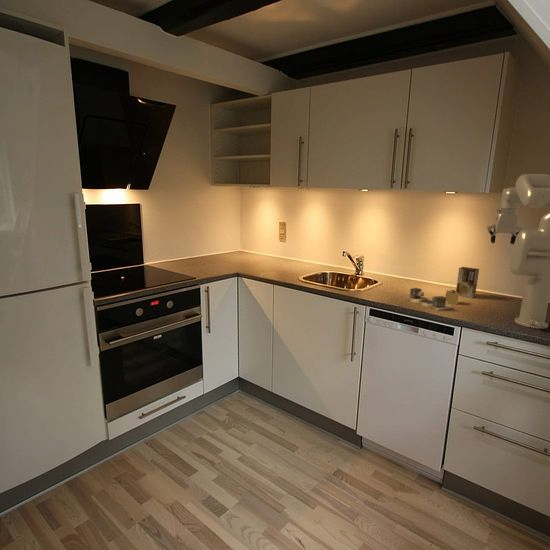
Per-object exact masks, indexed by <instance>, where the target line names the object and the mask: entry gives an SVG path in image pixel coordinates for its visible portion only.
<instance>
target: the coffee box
mask: <svg viewBox="0 0 550 550" xmlns="http://www.w3.org/2000/svg"><path fill="white" fill-rule="evenodd" d="M457 272H458V274H457V280H456V281H457V283H456V290H455V291H457V292H458V293H459V297H465V298H470V299H473V298H475V297H476V294H477V287H478V280H479V273H480V268H475V267H467V266H462V267H459V268H458V271H457Z"/></svg>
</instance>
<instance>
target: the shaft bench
mask: <svg viewBox="0 0 550 550" xmlns="http://www.w3.org/2000/svg"><path fill="white" fill-rule="evenodd" d="M424 294H425V292H424V291H422V288H419V287H414V288H412V287H411V288H410V292H409V297H404V300H405V299H406V300H405V301H407V300H409V301H408V302H410V301H411V303H413V302H414V304H416V303H417V305H419V304H420V306H422V305H423V307H425V306H426V307H425V308H428V307H429V309H431V308H432V309H431V310H435V311H437V312H438V311H443V310H448V309H453V305H452V304H447V303H446V296H443V295H439V296H438V295H437V296H432V297H431V298H427V297H425V296H424Z"/></svg>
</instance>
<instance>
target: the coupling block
mask: <svg viewBox="0 0 550 550" xmlns="http://www.w3.org/2000/svg"><path fill="white" fill-rule="evenodd" d="M445 297H446V303H445V304H447V305H458V304H459V298H460V296H459V293H458V292H457V291H456V290H455V289H450V290H446V292H445Z"/></svg>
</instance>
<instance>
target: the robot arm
mask: <svg viewBox="0 0 550 550" xmlns="http://www.w3.org/2000/svg"><path fill="white" fill-rule="evenodd" d="M501 194H502V195H501V199H500V206H499V208H498V209H496V213H497V215H496V218H495V222H494V224H492V225H489V226H488V227H486V229H487V231H488V233H489V234H490V236H491V237H490V243H491V244H495V243H496V235H497V234H498V233H499V234H511V235H512V236H510V243H509V244H511V245H514V246H513V249H512V253H511V258H510V264H509V269H510V272H511V273H512V274H513V275H516V276H523V277H524V276H526V277H527V276H528V277H530V278H528V280H527V281H526V282H525V285H524V290H523V295H522V299H521V300H522V301H521V305H520V312H519V316H518V317H515V318H514V322H515V323H516V324H517V325H520V326H523V327H527V328H530V327H531V329H538V330H539V329H540V330H542V329H543V330H544V329H547V328H549V323H547V322H545V321H546V317H547V312H548V308H549V307H548V306H549V301H550V255H548V254H539V253H550V174H546V173H525V174H521V175H520V176H519V177H518V178H517V180H516V181H515V186H514V187H508V188H507V187H506V188H504V189H503V190H502V192H501ZM518 203H519V204H520V203H521V204H522V205H523V206H524V207H526V208H530V209H531V208H533V209H549V210H547V211H546V212H545V213H544V214H543V216H542V217H541V218H540V221H539V226H538V228H537V229H533V228H532V229H531V228H527V229H523V228H522V227H521V226H518V215H517V214H516V213H517V207H518ZM492 229H493V231H492ZM530 252H533V253H537V254H529V253H530Z"/></svg>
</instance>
